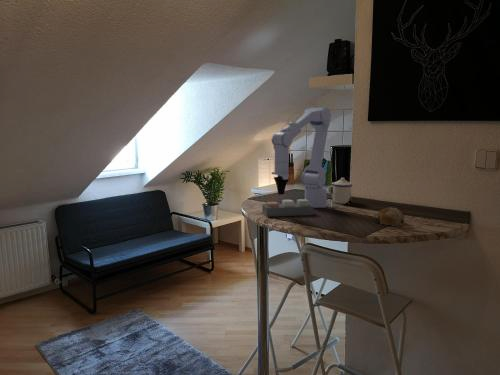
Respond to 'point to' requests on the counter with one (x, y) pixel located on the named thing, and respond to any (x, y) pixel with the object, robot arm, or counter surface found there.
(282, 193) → the robot arm
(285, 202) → the cream cube
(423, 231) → the counter surface
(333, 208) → the counter surface
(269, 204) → the brown cube
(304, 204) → the sage key
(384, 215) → the bread roll
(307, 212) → the keypad
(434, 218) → the counter surface
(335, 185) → the teacup with lid
